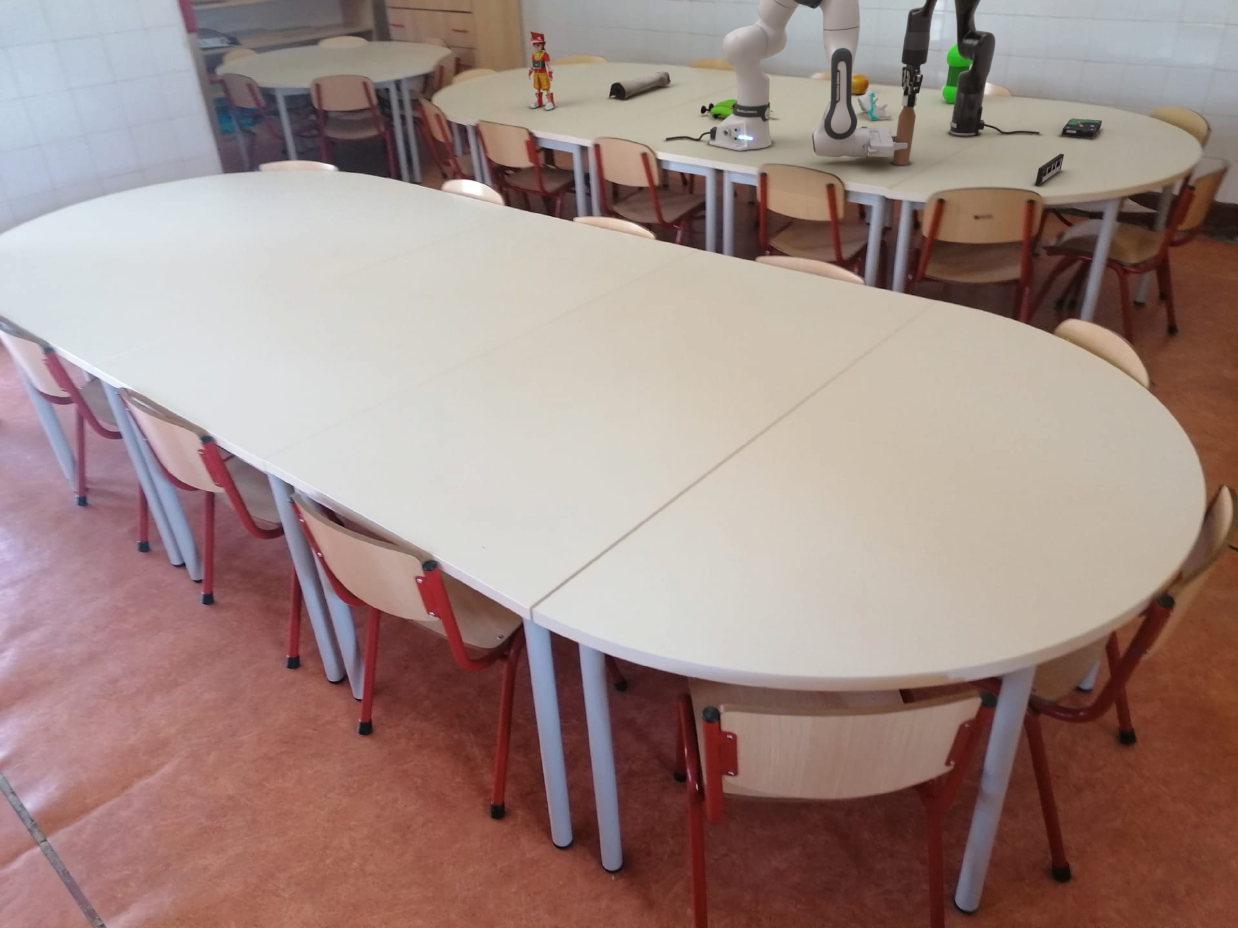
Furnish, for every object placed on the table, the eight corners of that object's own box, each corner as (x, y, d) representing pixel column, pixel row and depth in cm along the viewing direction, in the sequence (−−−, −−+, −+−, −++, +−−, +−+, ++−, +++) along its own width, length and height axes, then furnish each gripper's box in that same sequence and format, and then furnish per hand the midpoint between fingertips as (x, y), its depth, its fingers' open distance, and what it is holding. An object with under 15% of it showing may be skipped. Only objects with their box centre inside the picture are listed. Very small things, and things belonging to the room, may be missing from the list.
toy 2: (691, 117, 351) (761, 130, 338) (692, 103, 348) (762, 116, 335) (722, 107, 371) (789, 118, 359) (724, 93, 368) (791, 105, 356)
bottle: (889, 163, 294) (898, 99, 283) (896, 159, 298) (905, 96, 286) (904, 166, 292) (913, 101, 280) (911, 162, 295) (921, 98, 283)
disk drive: (1093, 139, 305) (1100, 128, 315) (1095, 131, 303) (1102, 120, 313) (1060, 136, 309) (1068, 125, 319) (1062, 128, 308) (1070, 117, 318)
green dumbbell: (973, 101, 354) (984, 32, 339) (955, 106, 349) (966, 36, 335) (952, 97, 361) (962, 29, 346) (934, 102, 356) (944, 33, 342)
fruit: (842, 86, 371) (854, 68, 368) (844, 90, 378) (856, 72, 375) (859, 97, 369) (871, 79, 366) (861, 100, 377) (873, 83, 374)
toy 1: (525, 109, 381) (517, 32, 364) (534, 104, 388) (527, 28, 371) (550, 110, 377) (543, 32, 360) (559, 105, 384) (553, 28, 367)
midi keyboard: (1039, 185, 269) (1043, 168, 266) (1035, 184, 270) (1038, 168, 267) (1060, 170, 279) (1064, 154, 277) (1056, 169, 280) (1060, 153, 277)
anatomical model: (852, 89, 345) (878, 82, 344) (855, 116, 351) (880, 109, 350) (864, 98, 333) (891, 91, 332) (866, 126, 338) (893, 119, 338)
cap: (917, 103, 285) (918, 96, 284) (914, 106, 282) (915, 99, 280) (903, 102, 287) (904, 95, 285) (900, 105, 283) (901, 98, 282)
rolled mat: (651, 76, 408) (662, 61, 399) (662, 93, 408) (674, 79, 400) (605, 92, 391) (616, 77, 383) (617, 110, 391) (628, 95, 383)
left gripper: (865, 142, 283) (910, 141, 281) (861, 125, 299) (904, 124, 297) (863, 162, 286) (908, 161, 284) (859, 144, 303) (902, 143, 301)
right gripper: (935, 50, 269) (927, 110, 278) (921, 41, 280) (913, 99, 290) (910, 51, 269) (902, 111, 278) (897, 43, 280) (890, 100, 290)
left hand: (906, 142), depth 291 cm, fingers closed on bottle, 5 cm apart
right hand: (908, 104), depth 284 cm, fingers closed on cap, 4 cm apart
